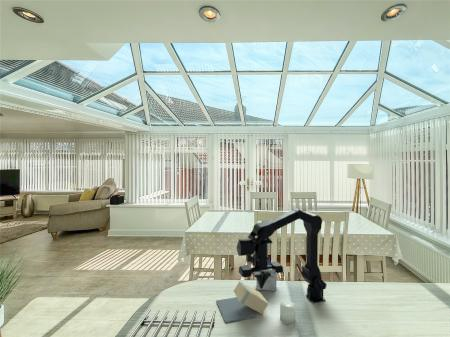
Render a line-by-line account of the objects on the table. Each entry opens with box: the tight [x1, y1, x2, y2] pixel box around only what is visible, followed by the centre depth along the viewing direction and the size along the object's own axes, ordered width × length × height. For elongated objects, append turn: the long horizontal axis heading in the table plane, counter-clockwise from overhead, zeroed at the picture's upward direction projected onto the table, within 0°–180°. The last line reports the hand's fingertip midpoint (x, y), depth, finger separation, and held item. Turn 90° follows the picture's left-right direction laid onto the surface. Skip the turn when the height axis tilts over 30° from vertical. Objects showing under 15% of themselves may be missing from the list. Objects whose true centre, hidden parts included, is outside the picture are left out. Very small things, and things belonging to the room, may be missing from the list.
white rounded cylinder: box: [279, 300, 296, 325], centre depth 106 cm, size 6×6×6 cm
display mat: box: [216, 296, 257, 324], centre depth 113 cm, size 13×16×1 cm
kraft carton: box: [233, 280, 270, 315], centre depth 113 cm, size 5×9×12 cm
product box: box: [255, 258, 277, 292], centre depth 131 cm, size 10×6×14 cm, turn 81°
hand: (260, 288), depth 114 cm, fingers closed
